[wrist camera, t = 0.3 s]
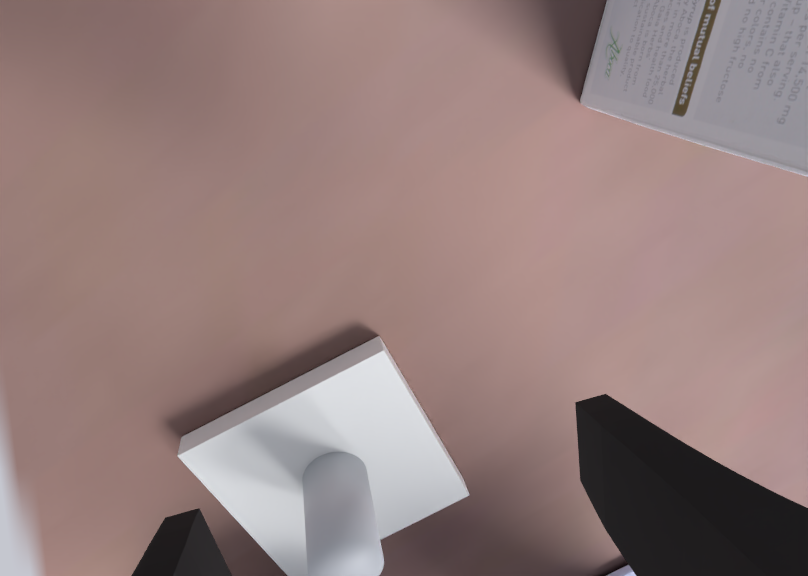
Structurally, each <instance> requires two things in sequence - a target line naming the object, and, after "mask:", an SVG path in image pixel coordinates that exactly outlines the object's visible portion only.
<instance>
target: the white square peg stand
mask: <svg viewBox="0 0 808 576" xmlns="http://www.w3.org/2000/svg"><path fill="white" fill-rule="evenodd" d="M177 456H178V457H179V458H180V459H181V460H182V462H183V463H184V464H185V465H186V466H187V467H188V468H189V469H190V470H191V471H192V472H193V474H194V475H195V476H196V477H197V478H198V479H199V480H200V481H201V482H202V483H203V484H204V485H205V487H206V488H207V489H208V490H209V491H210V492H211V493H212V494H213V495H214V496H215V497H216V498H217V500H218V501H219V502H220V503H221V504H222V505H223V506H224V507H225V508H226V509H227V510H228V512H229V513H230V514H231V515H232V516H233V517H234V518H235V519H236V520H237V521H238V522H239V523H240V525H241V526H242V527H243V528H244V529H245V530H246V531H247V532H248V533H249V534H250V535H251V536H252V538H253V539H254V540H255V541H256V542H257V543H258V544H259V545H260V546H261V547H262V548H263V550H264V551H265V552H266V553H267V554H268V555H269V556H270V557H271V558H272V559H273V560H274V561H275V563H276V564H277V565H278V566H279V567H280V568H281V569H282V570H283V571H284V572H285V573H286V574H287V576H379V575H380V574H381V572H382V569H383V566H384V558H383V552H382V547H381V542H380V540H381V539H383V538H385V537H387V536H389V535H391V534H393V533H395V532H397V531H399V530H401V529H403V528H405V527H407V526H409V525H411V524H413V523H415V522H417V521H419V520H421V519H423V518H425V517H427V516H429V515H431V514H433V513H435V512H437V511H439V510H441V509H443V508H445V507H447V506H449V505H451V504H453V503H455V502H457V501H459V500H461V499H463V498H465V497H467V496H469V492H468V490H467V487H466V484H465V482H464V479H463V477H462V475H461V474H460V472H459V470H458V469H457V467H456V465H455V463H454V462H453V460H452V458H451V457H450V455H449V453H448V452H447V450H446V448H445V446H444V445H443V443H442V441H441V440H440V438H439V436H438V435H437V433H436V431H435V429H434V428H433V426H432V424H431V423H430V421H429V419H428V418H427V416H426V414H425V412H424V411H423V409H422V407H421V406H420V404H419V402H418V401H417V399H416V397H415V395H414V394H413V392H412V390H411V389H410V387H409V385H408V383H407V382H406V380H405V378H404V377H403V375H402V373H401V372H400V370H399V368H398V366H397V365H396V363H395V361H394V360H393V358H392V356H391V355H390V353H389V351H388V349H387V348H386V346H385V344H384V343H383V341H382V339H381V338H380V336H378V337H376V338H374V339H372V340H370V341H368V342H366V343H364V344H362V345H360V346H358V347H356V348H354V349H352V350H350V351H348V352H346V353H344V354H342V355H340V356H339V357H337V358H335V359H333V360H331V361H329V362H327V363H325V364H323V365H321V366H319V367H317V368H315V369H313V370H311V371H309V372H307V373H305V374H303V375H301V376H299V377H298V378H296V379H294V380H292V381H290V382H288V383H286V384H284V385H282V386H280V387H278V388H276V389H274V390H272V391H270V392H268V393H266V394H264V395H262V396H260V397H258V398H257V399H255V400H253V401H251V402H249V403H247V404H245V405H243V406H241V407H239V408H237V409H235V410H233V411H231V412H229V413H227V414H225V415H223V416H221V417H219V418H218V419H216V420H214V421H212V422H210V423H208V424H206V425H204V426H202V427H200V428H198V429H196V430H194V431H192V432H190V433H188V434H186V435H184V436H182V437H181V441H180V446H179V450H178V455H177Z"/></svg>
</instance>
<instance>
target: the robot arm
mask: <svg viewBox="0 0 808 576" xmlns="http://www.w3.org/2000/svg"><path fill="white" fill-rule="evenodd" d="M575 403H576V418H577V434H578V449H579V464H580V479H581V482H582V484H583V486H584V488H585V490H586V492H587V494H588V496H589V498H590V500H591V502H592V504H593V506H594V508H595V510H596V512H597V514H598V516H599V518H600V520H601V522H602V524H603V525H604V527H605V529H606V531H607V532H608V534H609V535H610V537H611V538H612V540H613V542H614V543H615V545H616V546H617V548H618V549H619V551H620V552H621V554H622V555H623V557H624V558H625V560H626V561H627V563H628V564H629V565H627V566H624V567H622V568H620V569H618V570H616V571H614V572H612V573H610V574H608V575H606V576H808V508H806V507H804V506H802V505H800V504H797V503H795V502H793V501H791V500H789V499H787V498H785V497H783V496H781V495H778V494H776V493H774V492H772V491H770V490H768V489H767V488H765V487H763V486H761V485H759V484H757V483H755V482H753V481H751V480H749V479H747V478H745V477H744V476H742V475H740V474H738V473H736V472H734V471H732V470H730V469H729V468H727V467H725V466H723V465H721V464H720V463H718V462H716V461H714V460H712V459H711V458H709V457H707V456H706V455H704V454H702V453H700V452H699V451H697V450H695V449H694V448H692V447H690V446H688V445H687V444H685V443H683V442H682V441H680V440H678V439H677V438H675V437H674V436H672V435H670V434H669V433H667V432H665V431H664V430H662V429H661V428H659V427H657V426H656V425H654V424H653V423H651V422H649V421H648V420H646V419H645V418H643V417H641V416H640V415H638V414H637V413H635V412H633V411H632V410H630V409H629V408H627V407H626V406H624V405H622V404H621V403H619V402H618V401H616V400H614V399H613V398H611V397H610V396H608V395H606V394H604V395H600V396H597V397H593V398H590V399H586V400H582V401H579V402H575ZM132 576H232V575H231V573H230V571H229V569H228V567H227V565H226V563H225V560H224V558H223V556H222V554H221V552H220V550H219V548H218V546H217V544H216V542H215V540H214V538H213V536H212V534H211V532H210V530H209V527H208V525H207V523H206V521H205V519H204V517H203V515H202V513H201V511H200V509H195V510H191V511H188V512H184V513H181V514H177V515H174V516H170V517H167V518H165V519H164V521H163V523H162V524H161V526H160V527H159V529H158V531H157V533H156V534H155V536H154V538H153V539H152V541H151V543H150V545H149V546H148V548H147V550H146V552H145V553H144V555H143V557H142V559H141V560H140V562H139V564H138V565H137V567H136V569H135V571H134V572H133V574H132Z"/></svg>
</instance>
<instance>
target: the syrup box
mask: <svg viewBox="0 0 808 576" xmlns="http://www.w3.org/2000/svg"><path fill="white" fill-rule="evenodd" d="M580 103H581V104H582V105H584V106H586V107H587V108H590V109H592V110H595V111H598V112H602V113H605V114H607V115H611V116H614V117H617V118H619V119H623V120H626V121H629V122H631V123H634V124H637V125H640V126H644V127H647V128H649V129H652V130H656V131H659V132H662V133H665V134H669V135H672V136H675V137H678V138H681V139H684V140H687V141H690V142H694V143H697V144H700V145H703V146H707V147H710V148H713V149H717V150H720V151H724V152H727V153H730V154H734V155H737V156H740V157H744V158H747V159H750V160H753V161H757V162H760V163H763V164H767V165H771V166H775V167H778V168H780V169H783V170H787V171H791V172H794V173H797V174H800V175H804V176H807V177H808V0H607V2H606V6H605V9H604V14H603V17H602V21H601V24H600V28H599V32H598V35H597V39H596V43H595V46H594V50H593V54H592V58H591V62H590V65H589V69H588V72H587V76H586V80H585V84H584V88H583V92H582V95H581V98H580Z"/></svg>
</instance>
